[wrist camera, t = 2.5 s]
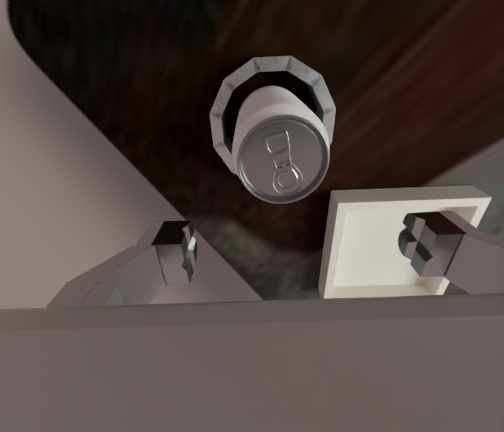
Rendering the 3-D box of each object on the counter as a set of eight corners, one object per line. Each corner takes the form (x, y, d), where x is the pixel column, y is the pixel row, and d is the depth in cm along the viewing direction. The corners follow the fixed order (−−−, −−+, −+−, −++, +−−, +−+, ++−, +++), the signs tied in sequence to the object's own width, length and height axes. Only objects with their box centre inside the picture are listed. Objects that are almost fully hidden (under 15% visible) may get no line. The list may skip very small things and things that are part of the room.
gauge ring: (208, 59, 23) (203, 59, 21) (332, 53, 23) (342, 53, 20) (220, 174, 29) (218, 186, 26) (320, 170, 29) (327, 182, 26)
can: (249, 160, 28) (249, 220, 18) (228, 98, 25) (212, 129, 15) (308, 141, 27) (343, 193, 17) (294, 74, 24) (327, 88, 14)
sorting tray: (330, 190, 30) (338, 203, 27) (471, 185, 30) (491, 197, 27) (318, 287, 38) (322, 304, 36) (427, 284, 38) (439, 300, 36)
